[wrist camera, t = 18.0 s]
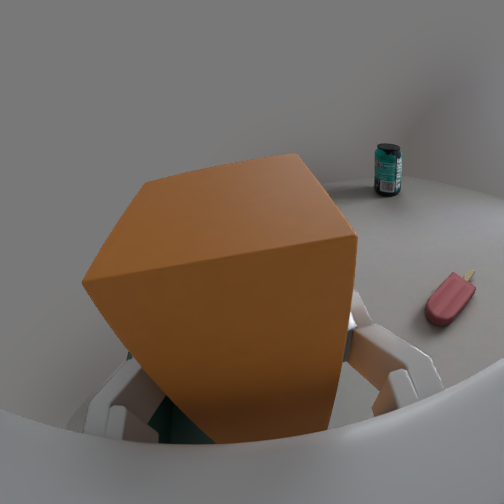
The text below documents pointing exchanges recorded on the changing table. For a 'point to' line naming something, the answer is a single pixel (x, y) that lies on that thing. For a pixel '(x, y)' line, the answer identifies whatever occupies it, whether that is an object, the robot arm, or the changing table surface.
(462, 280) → the popsicle
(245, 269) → the orange rectangular prism
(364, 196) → the changing table surface
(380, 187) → the beverage can
